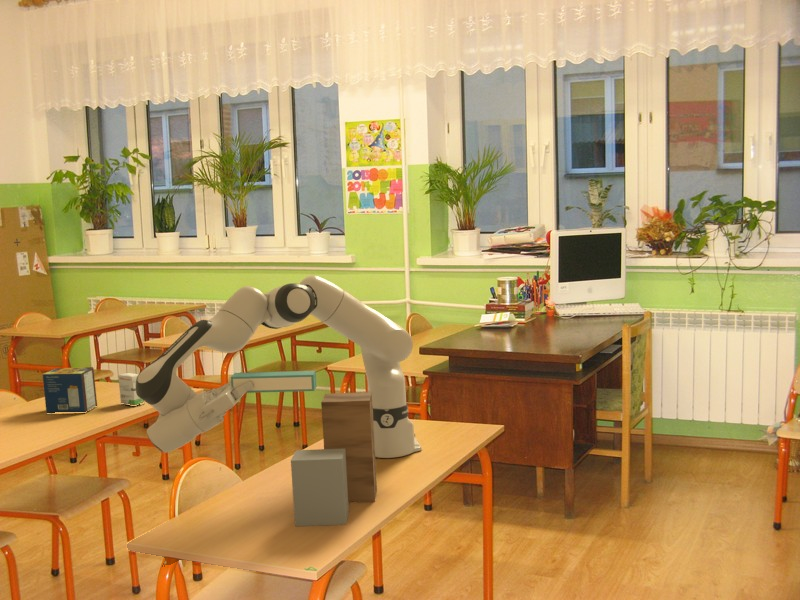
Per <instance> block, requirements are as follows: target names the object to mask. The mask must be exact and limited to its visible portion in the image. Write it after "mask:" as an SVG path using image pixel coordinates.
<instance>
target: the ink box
mask: <svg viewBox="0 0 800 600" xmlns="http://www.w3.org/2000/svg"><path fill="white" fill-rule="evenodd" d="M138 375H139V373H132V372H126V373H121V374H118V375H117V376H118V386H119V394H120V397H119V398H120V404H121V403H124V404H130V405H137V404H140V403H143V402H144V403H145V401H144V400H142V399H141V398H140V397H138V396H137V393H136V379H137V376H138Z"/></svg>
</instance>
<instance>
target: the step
mask: <svg viewBox="0 0 800 600" xmlns="http://www.w3.org/2000/svg"><path fill="white" fill-rule="evenodd" d="M290 467H291V468H290V469H291V470H290V471H291V482H292V483H291V485H292V486H291V487H292V498H293V499H292V500H293V515H294V526H295V527H316V526H321V527H322V526H342V525H343V526H345V525H347V522H348V517H349V513H350V509H349V508H350V507H349V503H348V488H347V470H346V453H345V449H324V448H323V449H321V448H319V449H296V450H295V451H294V453H293V456H292V457H291V460H290Z"/></svg>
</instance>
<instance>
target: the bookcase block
mask: <svg viewBox="0 0 800 600" xmlns="http://www.w3.org/2000/svg"><path fill="white" fill-rule="evenodd" d="M320 404H321V405H320V406H321V420H322V421H321V422H322V437H323V438H322V439H323V449H345V453H346V470H347V488H348V504H349V503H374V502H376V500H377V499H376V498H377V492H378V485H377V483H378V482H377V481H378V480H377V467H376V466H377V461H376V457H375V441H374V422H373V403H372V392H368V391H364V392H363V391H361V392H337V393H335V392H334V393H325V394H324V396H323V398H322V400H321V403H320Z"/></svg>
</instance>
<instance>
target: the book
mask: <svg viewBox="0 0 800 600" xmlns="http://www.w3.org/2000/svg"><path fill="white" fill-rule="evenodd" d="M248 381H252V383H253V384H254V386H253V388H252V389H250V390H248V391H247V392H246V393H245V394H251V393H253V394H254V393H286V392H287V393H289V392H291V393H292V392H294V393H295V392H314V391H315V390H316V389H317V371H316V370H297V371H296V370H295V371H292V370H291V371H289V370H288V371H260V372H258V371H256V372H255V371H254V372H253V371H252V372H234V373H233V374H232V375H231V376H230V382H231V387H233V388H234V389H236V388H238V387H240V386H242V385H243V384H245V383H246V382H248ZM234 389H233V390H234ZM233 390H232V391H233Z"/></svg>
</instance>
